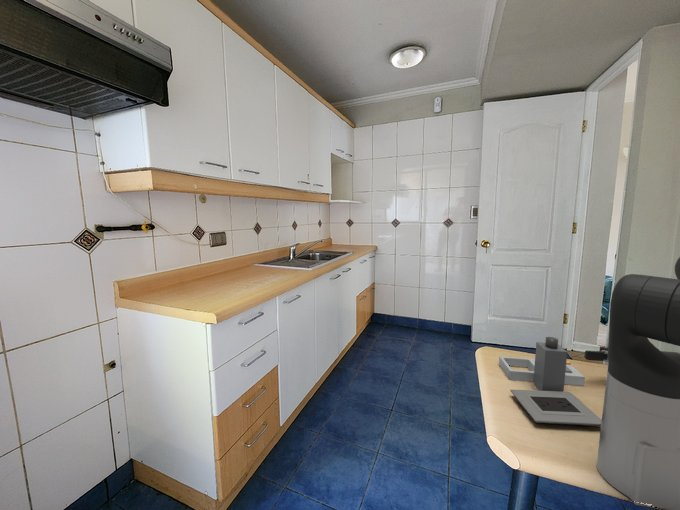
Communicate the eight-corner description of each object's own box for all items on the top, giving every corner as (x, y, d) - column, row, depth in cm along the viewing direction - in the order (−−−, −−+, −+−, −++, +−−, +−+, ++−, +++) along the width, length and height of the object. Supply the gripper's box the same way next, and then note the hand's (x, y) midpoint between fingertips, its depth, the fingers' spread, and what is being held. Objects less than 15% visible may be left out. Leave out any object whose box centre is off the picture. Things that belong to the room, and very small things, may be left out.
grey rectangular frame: (584, 385, 72) (585, 375, 71) (509, 379, 75) (510, 369, 75) (565, 369, 80) (566, 359, 79) (498, 364, 83) (499, 354, 82)
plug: (563, 395, 68) (568, 343, 66) (541, 393, 69) (546, 342, 67) (552, 384, 72) (557, 335, 71) (533, 383, 73) (537, 334, 72)
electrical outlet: (569, 400, 67) (570, 390, 67) (606, 433, 57) (607, 422, 56) (509, 397, 68) (510, 388, 68) (535, 430, 58) (536, 419, 58)
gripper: (654, 340, 71) (579, 336, 74) (716, 370, 57) (621, 363, 60) (650, 368, 72) (576, 363, 75) (710, 405, 58) (617, 396, 61)
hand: (596, 363), depth 68 cm, fingers open, 8 cm apart
